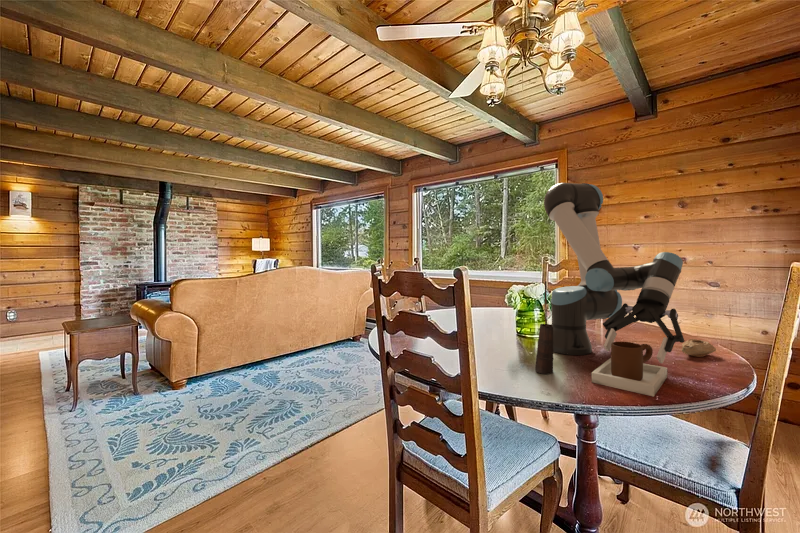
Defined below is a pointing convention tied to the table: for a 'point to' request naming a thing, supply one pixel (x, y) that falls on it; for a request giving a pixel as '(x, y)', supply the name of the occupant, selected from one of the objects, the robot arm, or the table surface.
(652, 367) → the tray
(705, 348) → the pottery oil lamp
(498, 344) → the table surface
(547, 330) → the butter churn
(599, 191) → the robot arm
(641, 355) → the mug
